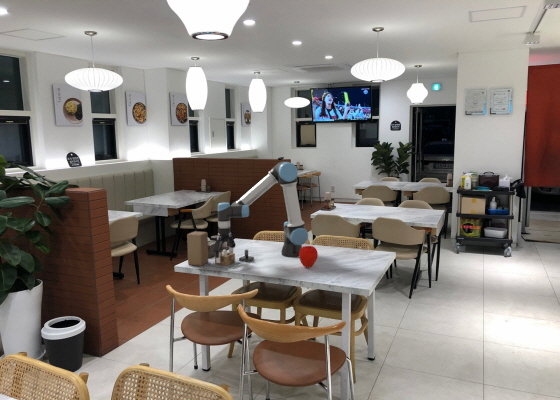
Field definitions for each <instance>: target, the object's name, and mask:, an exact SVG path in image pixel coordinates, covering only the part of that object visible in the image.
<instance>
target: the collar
mask: <svg viewBox="0 0 560 400" xmlns="http://www.w3.org/2000/svg"><path fill="white" fill-rule="evenodd" d="M222 252H223V251H222ZM222 252H221V251H220V263H216V254H214V263H215V264H217V265H223V266H228V265H230V264H233V263H235V261H236V253H234V252H233V253H229V251H227V255H226V256H225V255H222Z"/></svg>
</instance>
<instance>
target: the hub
mask: <svg viewBox="0 0 560 400" xmlns="http://www.w3.org/2000/svg"><path fill="white" fill-rule="evenodd" d="M227 252H228V251H227V249H223V250H222V255H225V256H226V255H227ZM239 264H241V261H236V260H235V263H233V264H230V265H228V266H223V265H217V264H215V262H213V263H210V264H209V266H211V267H216V268H221V267H223V268H222V269H227V268H228V269H230V268H232V267H234V266H237V265H239Z"/></svg>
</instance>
